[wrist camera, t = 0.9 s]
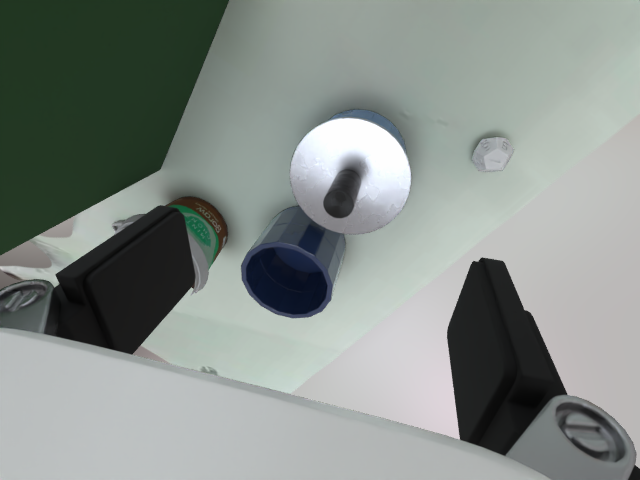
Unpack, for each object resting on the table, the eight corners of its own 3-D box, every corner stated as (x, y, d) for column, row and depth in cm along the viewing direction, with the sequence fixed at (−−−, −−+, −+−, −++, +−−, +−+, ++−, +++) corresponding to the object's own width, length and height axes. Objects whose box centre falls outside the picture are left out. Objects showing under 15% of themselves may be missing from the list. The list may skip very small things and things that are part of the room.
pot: (287, 190, 41) (260, 224, 34) (360, 233, 42) (349, 276, 35) (257, 248, 48) (229, 288, 40) (322, 285, 48) (306, 331, 41)
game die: (479, 128, 33) (485, 136, 30) (516, 138, 33) (525, 147, 30) (463, 161, 35) (467, 171, 32) (498, 171, 35) (505, 182, 32)
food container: (252, 229, 46) (217, 272, 38) (230, 253, 49) (194, 298, 41) (179, 169, 44) (125, 201, 35) (161, 199, 47) (108, 234, 38)
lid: (326, 89, 29) (307, 101, 24) (438, 159, 30) (444, 185, 25) (275, 193, 35) (252, 220, 30) (368, 247, 36) (361, 283, 31)
